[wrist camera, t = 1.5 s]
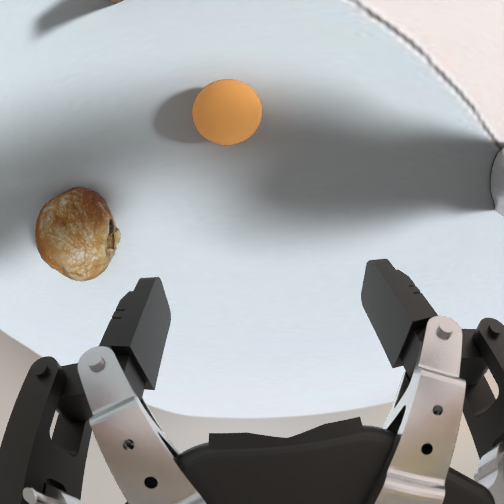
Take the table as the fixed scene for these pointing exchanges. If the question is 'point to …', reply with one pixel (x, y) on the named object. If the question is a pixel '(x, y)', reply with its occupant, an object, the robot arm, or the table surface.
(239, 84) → the ball
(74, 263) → the bread roll
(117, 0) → the bridge
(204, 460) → the robot arm
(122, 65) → the table surface
